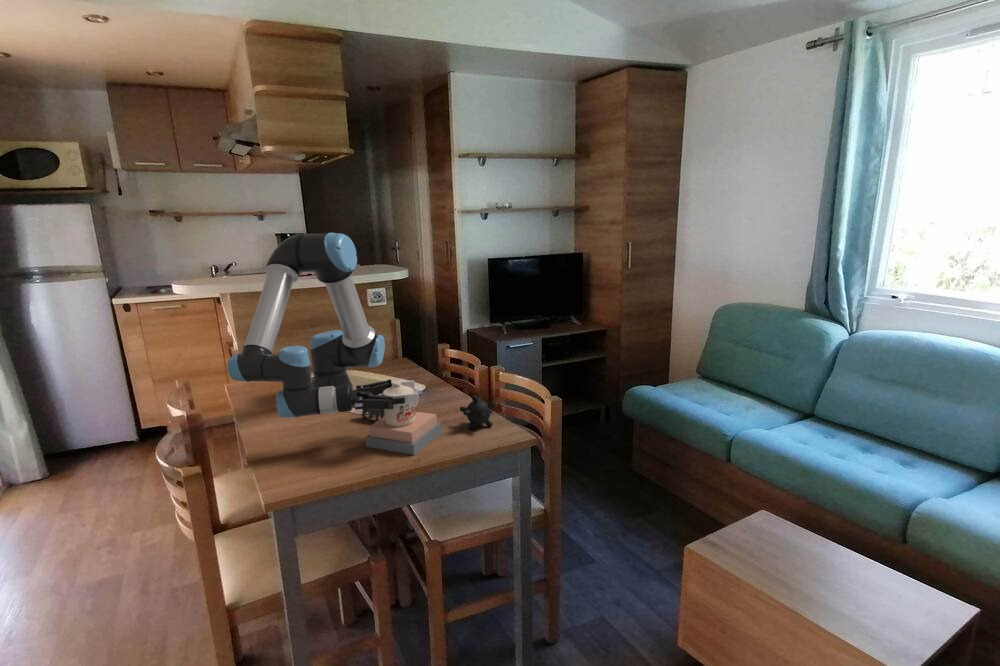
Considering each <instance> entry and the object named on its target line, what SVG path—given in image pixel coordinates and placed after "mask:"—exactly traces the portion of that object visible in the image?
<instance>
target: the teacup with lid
mask: <svg viewBox="0 0 1000 666" xmlns="http://www.w3.org/2000/svg"><path fill="white" fill-rule="evenodd" d="M395 382H396V383H394V386H392V387H391V388H388V389H386V390H384V391H383V393H382V394H381V396H388V397H393V395H401V394H411V393H417V403H412V404H403V405H393V409H384V414H385V416H384V417H385V423H386V424H387V425H389V426H394V427H400V426H406V425H409V424H411V423H413V422H414V421H415V412H416V407H417V405H418V403H419V400H420V397H419V395H420V394H419V393H418V392H417V391H415V390H413V389H412V388H411V387H407V386H404V385H401V383H400V382H401V381H395Z"/></svg>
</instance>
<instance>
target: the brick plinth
mask: <svg viewBox="0 0 1000 666" xmlns="http://www.w3.org/2000/svg"><path fill="white" fill-rule="evenodd" d="M437 416H438V414H437V413H436V414H435V413H429V412H421V411H415V421H414V422H413V423H411V424H409V425H406V426H400V427H394V426H389V425H387V424H386V423H385V416H384V417H383V418H382V419H381V418H380V419H378V421H377V422H375V421H374V422H373V423H372V424H371V425H369V426H368V427H369V428H368V429H369V434H367V435H366V436H365V437H364V439H365V440H364V441H365V447H366V448H371V449H377V450H383V451H388V452H394V453H399V454H406V455H412V456H415V455H417V454H418V453H419V452H420V451H421V450H423V449H424V448H425V447H426V446H428V444H430V443H431V442H433V440H435V439H436V438H437V437H438V436H440V435H441V434H442V433H443V424H442V422H439V421H438V419H437V418H438V417H437Z"/></svg>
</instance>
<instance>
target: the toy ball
mask: <svg viewBox="0 0 1000 666" xmlns="http://www.w3.org/2000/svg"><path fill="white" fill-rule="evenodd" d="M471 400H472V401H471V402H469V403H468V405H467V406H460V407H459V410H460V412H461V413H463V414H462V415H464V416H466V418H467V420H468V421H469V423H468V424H467V429H468V430H470V431H471V430H473V428H474V427H475V425H481V426H482V425H483V424H485V425H486V426H487V427H488V428H491V427H492V426H493V423H492V421H491V420H490V417H491V414H493V409H492V408H494V407H495V406H496V402H495V401H491V402H489V403H487V402H486V401H485V400H482V399H481V397H480V396H477V395H476V394H475V395H474V394H473V395H472V397H471Z"/></svg>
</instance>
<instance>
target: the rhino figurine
mask: <svg viewBox="0 0 1000 666" xmlns="http://www.w3.org/2000/svg"><path fill="white" fill-rule="evenodd" d="M361 410H362V411H361V419H362V420H365V419H367V416H366V414H367V413H368V415H369V418H374V417H375V419H374V423H375V422H377V421H378V420H379V417H380V419H382V418H383V417H385V414H384V409H361Z"/></svg>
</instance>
